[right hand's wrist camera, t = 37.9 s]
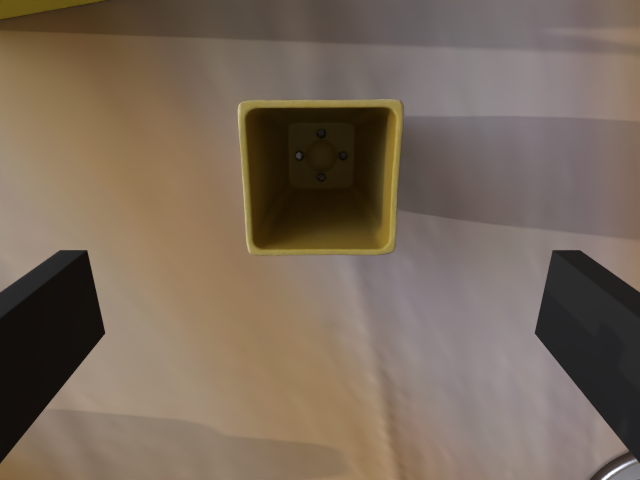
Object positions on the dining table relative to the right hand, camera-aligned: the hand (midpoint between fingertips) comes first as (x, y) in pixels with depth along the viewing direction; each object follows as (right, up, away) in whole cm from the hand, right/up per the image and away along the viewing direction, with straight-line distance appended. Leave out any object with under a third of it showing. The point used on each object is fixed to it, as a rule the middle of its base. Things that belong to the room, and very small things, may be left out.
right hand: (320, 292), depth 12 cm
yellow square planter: (0, +8, +20) cm, 21 cm away
